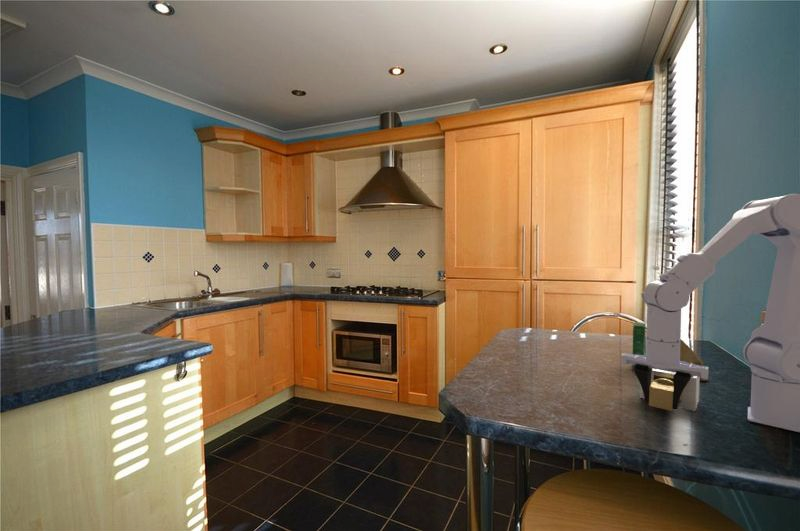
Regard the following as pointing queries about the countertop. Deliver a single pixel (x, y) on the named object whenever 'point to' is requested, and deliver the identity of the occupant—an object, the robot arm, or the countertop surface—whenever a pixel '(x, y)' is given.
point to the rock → (689, 356)
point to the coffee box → (638, 339)
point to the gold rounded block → (662, 393)
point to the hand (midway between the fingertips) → (661, 404)
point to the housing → (689, 393)
